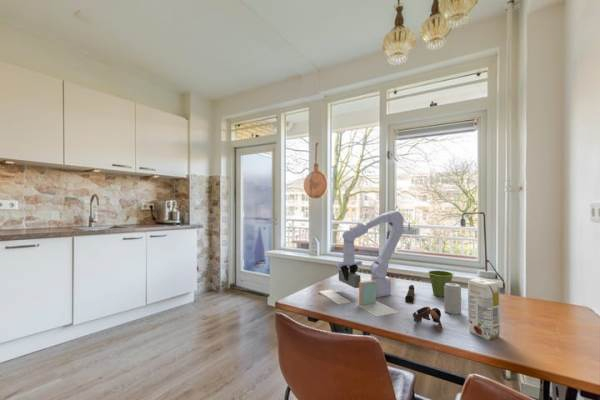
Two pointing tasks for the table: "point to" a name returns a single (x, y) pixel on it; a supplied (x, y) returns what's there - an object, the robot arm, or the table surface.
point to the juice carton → (484, 308)
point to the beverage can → (452, 298)
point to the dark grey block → (350, 278)
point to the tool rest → (334, 297)
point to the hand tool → (410, 294)
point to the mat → (377, 309)
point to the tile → (367, 292)
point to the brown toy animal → (425, 313)
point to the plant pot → (439, 281)
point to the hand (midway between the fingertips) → (349, 279)
